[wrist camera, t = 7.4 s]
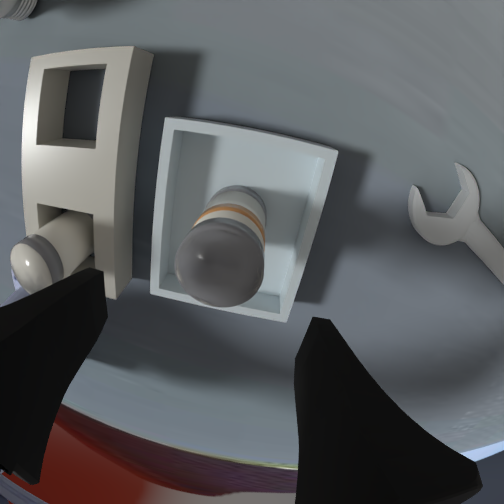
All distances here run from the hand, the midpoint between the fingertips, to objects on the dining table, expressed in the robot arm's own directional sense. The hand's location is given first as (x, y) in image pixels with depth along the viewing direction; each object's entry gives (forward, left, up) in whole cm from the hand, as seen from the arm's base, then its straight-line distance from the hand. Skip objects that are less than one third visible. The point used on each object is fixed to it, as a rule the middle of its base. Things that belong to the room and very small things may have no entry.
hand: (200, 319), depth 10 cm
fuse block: (+2, +11, -10) cm, 15 cm away
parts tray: (0, 0, -10) cm, 10 cm away
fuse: (-3, +11, -10) cm, 15 cm away
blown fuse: (0, 0, -10) cm, 10 cm away
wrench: (+1, -24, -11) cm, 27 cm away
